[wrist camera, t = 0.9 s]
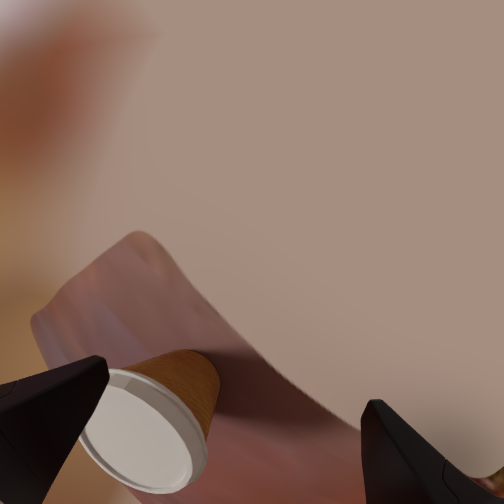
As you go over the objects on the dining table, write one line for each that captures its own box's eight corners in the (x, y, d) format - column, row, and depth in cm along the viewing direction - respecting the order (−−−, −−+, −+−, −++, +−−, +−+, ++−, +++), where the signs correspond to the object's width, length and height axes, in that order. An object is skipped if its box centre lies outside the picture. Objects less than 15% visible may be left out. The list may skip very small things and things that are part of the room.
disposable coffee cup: (178, 311, 24) (97, 341, 12) (259, 380, 23) (236, 462, 11) (129, 375, 24) (52, 421, 12) (198, 435, 23) (153, 511, 11)
